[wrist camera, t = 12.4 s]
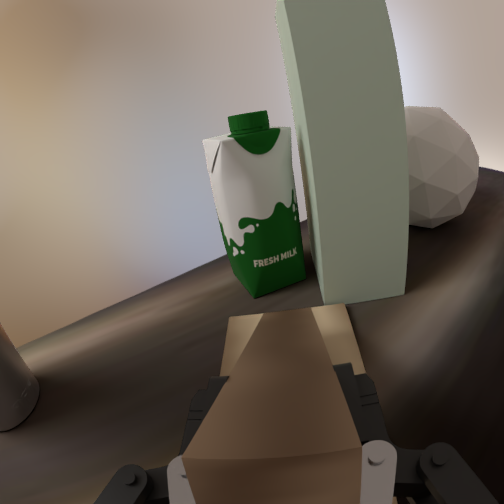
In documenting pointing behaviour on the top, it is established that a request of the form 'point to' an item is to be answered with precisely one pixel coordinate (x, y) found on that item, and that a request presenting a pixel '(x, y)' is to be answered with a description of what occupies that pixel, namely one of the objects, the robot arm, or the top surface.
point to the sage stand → (349, 143)
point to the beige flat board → (331, 328)
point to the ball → (438, 166)
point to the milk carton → (257, 202)
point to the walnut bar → (278, 424)
